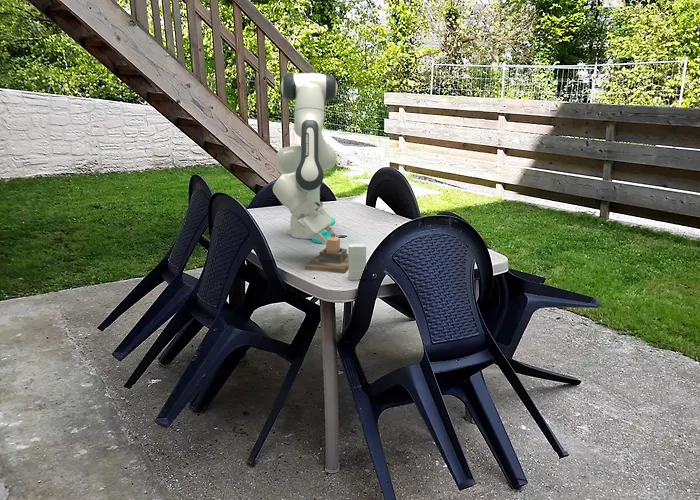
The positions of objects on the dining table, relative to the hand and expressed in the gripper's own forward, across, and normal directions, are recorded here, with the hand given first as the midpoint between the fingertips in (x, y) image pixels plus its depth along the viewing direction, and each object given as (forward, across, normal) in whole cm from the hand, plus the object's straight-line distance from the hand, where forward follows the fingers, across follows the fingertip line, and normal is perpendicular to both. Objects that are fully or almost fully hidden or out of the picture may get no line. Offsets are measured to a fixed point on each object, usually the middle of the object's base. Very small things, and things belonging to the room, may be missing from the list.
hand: (330, 239), depth 236 cm
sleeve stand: (+7, 0, +6) cm, 9 cm away
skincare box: (+17, -14, -4) cm, 22 cm away
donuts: (-3, +30, +16) cm, 34 cm away
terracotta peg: (+6, 0, +5) cm, 8 cm away
